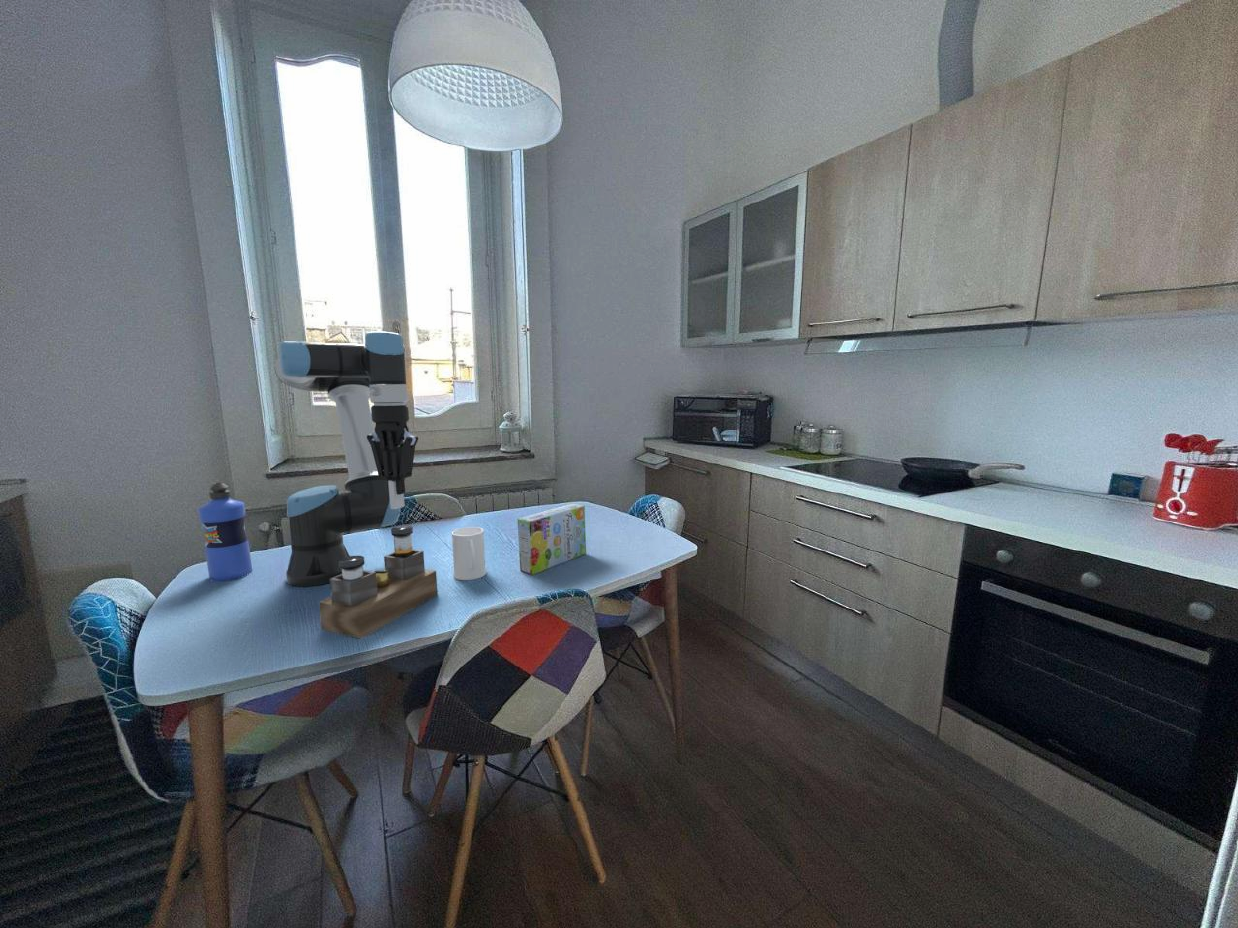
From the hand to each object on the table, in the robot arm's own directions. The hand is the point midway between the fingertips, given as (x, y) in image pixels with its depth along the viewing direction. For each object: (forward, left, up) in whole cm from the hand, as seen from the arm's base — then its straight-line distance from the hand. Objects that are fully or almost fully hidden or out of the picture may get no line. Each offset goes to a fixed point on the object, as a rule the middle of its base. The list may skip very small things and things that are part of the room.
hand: (397, 507), depth 111 cm
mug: (+6, +17, -23) cm, 29 cm away
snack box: (+22, +34, -23) cm, 46 cm away
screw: (0, -6, -16) cm, 17 cm away
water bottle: (-55, -4, -23) cm, 60 cm away
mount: (0, -6, -22) cm, 23 cm away
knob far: (0, +1, -13) cm, 13 cm away
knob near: (0, -13, -15) cm, 20 cm away
